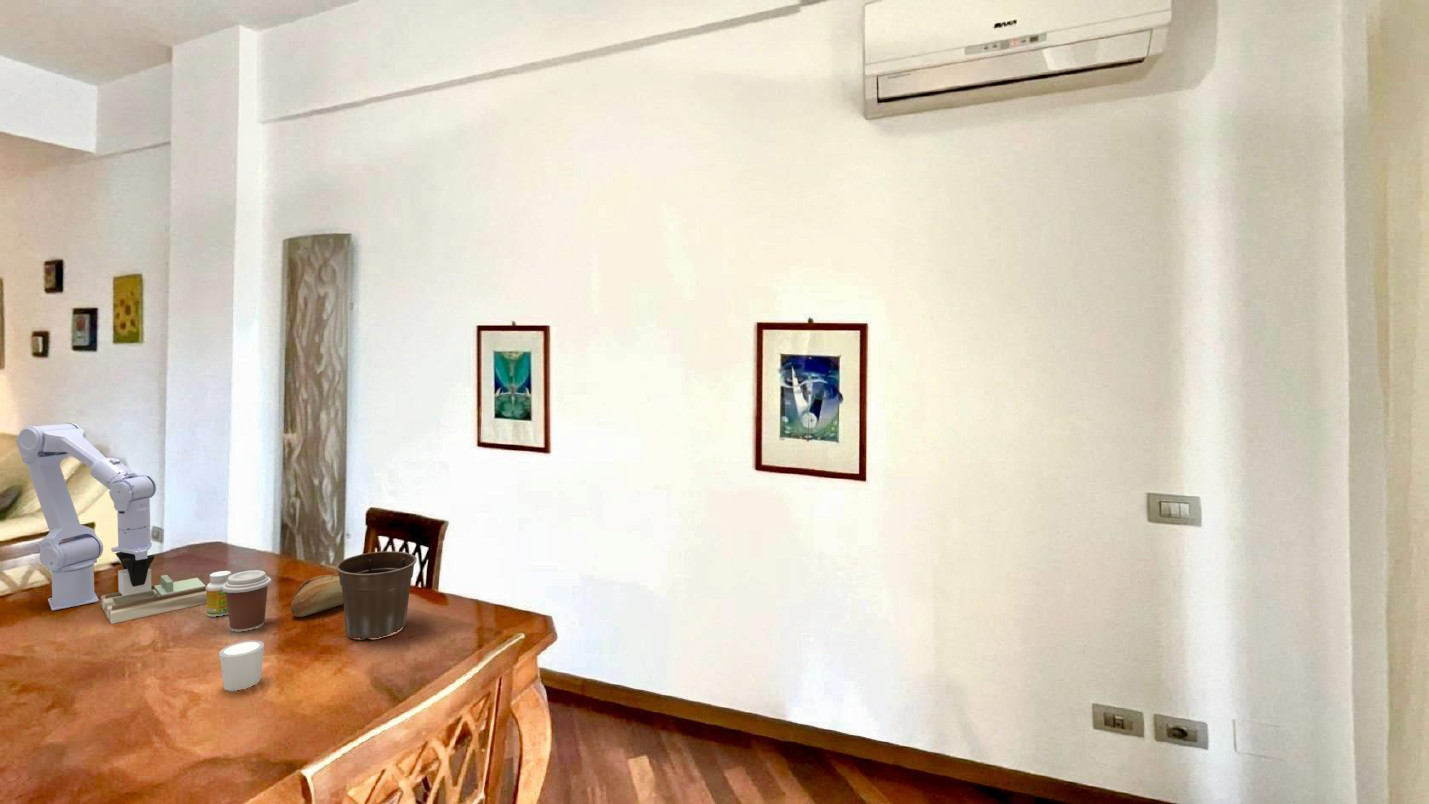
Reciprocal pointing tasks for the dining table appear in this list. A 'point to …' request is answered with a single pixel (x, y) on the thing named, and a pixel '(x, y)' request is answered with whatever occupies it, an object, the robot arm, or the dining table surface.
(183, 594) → the sliding lid box
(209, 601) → the supplement bottle
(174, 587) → the cover
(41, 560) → the robot arm
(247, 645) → the white round tub
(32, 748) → the dining table surface
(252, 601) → the coffee cup
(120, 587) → the grey block
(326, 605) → the bread roll
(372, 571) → the plant pot
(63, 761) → the dining table surface
